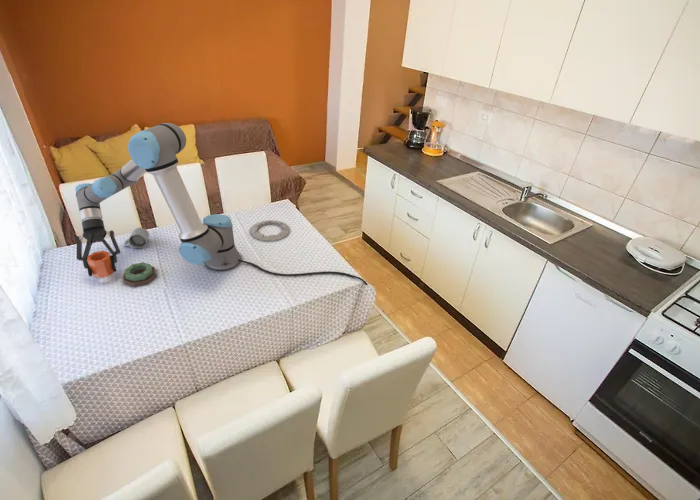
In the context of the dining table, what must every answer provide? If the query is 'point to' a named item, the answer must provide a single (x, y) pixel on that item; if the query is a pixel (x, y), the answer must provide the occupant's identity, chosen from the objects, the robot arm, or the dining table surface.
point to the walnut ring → (140, 282)
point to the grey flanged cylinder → (138, 238)
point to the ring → (270, 237)
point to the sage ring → (142, 275)
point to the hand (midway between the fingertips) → (102, 273)
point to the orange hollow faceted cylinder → (100, 264)
